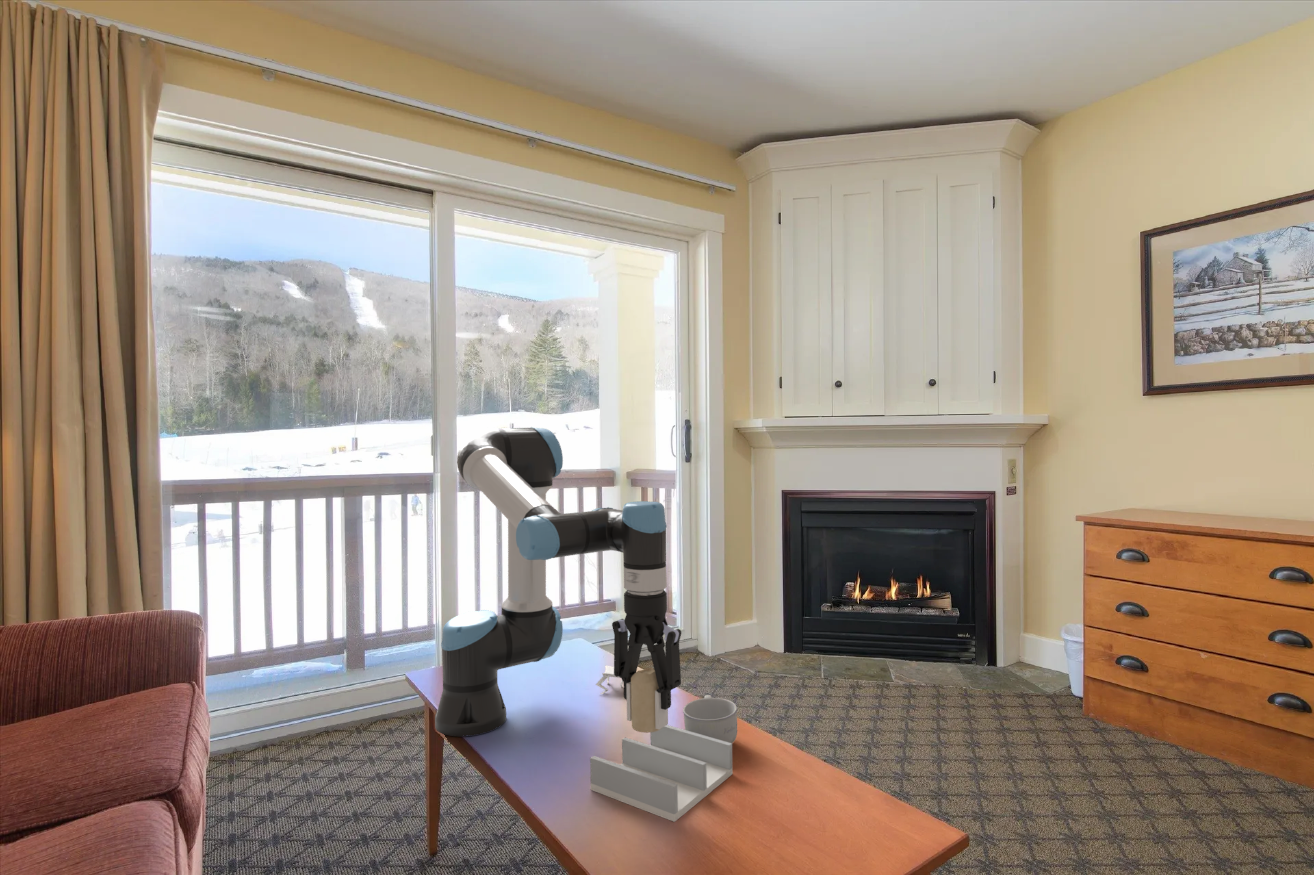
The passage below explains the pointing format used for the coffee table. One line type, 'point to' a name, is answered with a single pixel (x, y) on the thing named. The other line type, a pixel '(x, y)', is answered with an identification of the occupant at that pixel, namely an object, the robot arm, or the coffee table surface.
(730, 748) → the slot rack
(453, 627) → the robot arm
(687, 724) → the teacup
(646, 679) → the candle
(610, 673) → the origami figure
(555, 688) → the coffee table surface
